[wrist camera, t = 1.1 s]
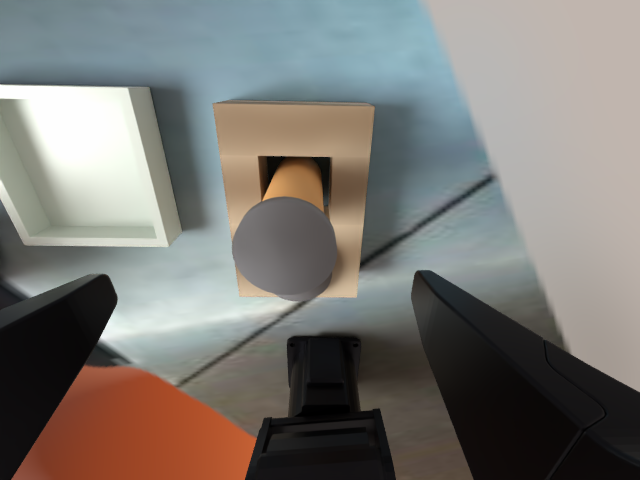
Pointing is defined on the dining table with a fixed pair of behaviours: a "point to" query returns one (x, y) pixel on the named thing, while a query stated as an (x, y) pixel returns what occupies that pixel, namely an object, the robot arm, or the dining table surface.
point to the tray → (85, 167)
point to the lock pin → (287, 232)
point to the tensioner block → (310, 141)
